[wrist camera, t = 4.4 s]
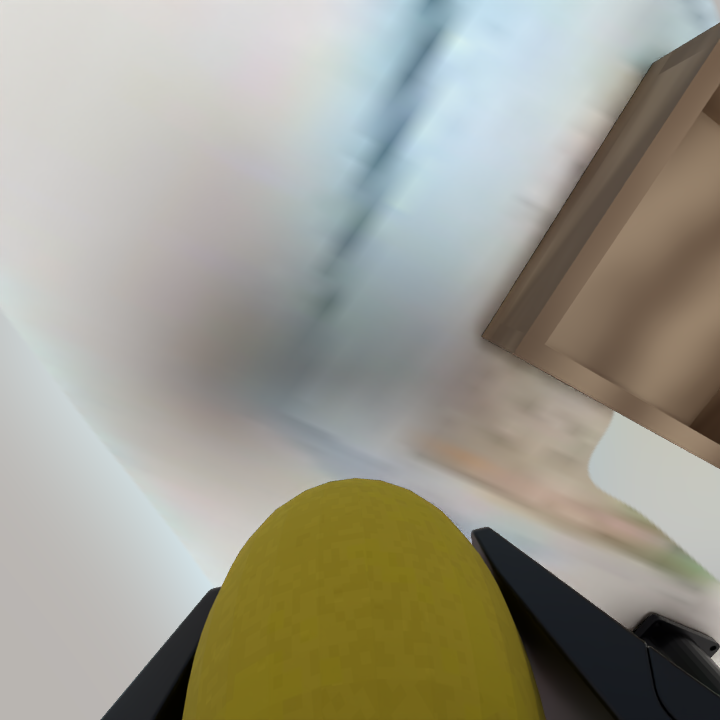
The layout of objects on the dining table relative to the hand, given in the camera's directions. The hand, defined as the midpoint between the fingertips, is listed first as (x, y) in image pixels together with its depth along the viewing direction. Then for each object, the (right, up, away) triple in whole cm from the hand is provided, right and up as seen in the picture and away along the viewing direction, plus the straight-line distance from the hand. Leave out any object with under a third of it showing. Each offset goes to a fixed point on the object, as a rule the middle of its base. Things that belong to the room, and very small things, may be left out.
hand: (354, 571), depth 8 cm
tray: (+16, +9, +11) cm, 21 cm away
